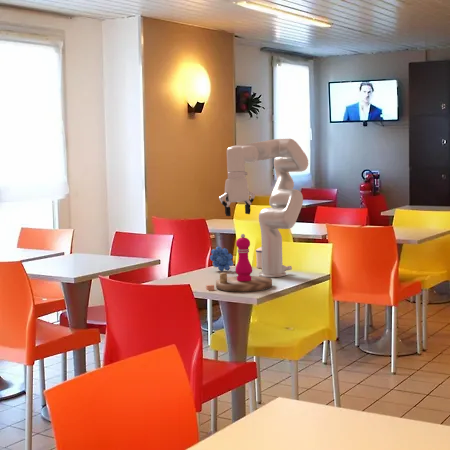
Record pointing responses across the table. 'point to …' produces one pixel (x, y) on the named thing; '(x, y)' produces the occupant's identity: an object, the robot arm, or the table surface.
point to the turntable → (243, 283)
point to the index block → (209, 287)
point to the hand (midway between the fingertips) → (238, 215)
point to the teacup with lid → (259, 257)
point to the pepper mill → (243, 260)
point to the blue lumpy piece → (221, 258)
